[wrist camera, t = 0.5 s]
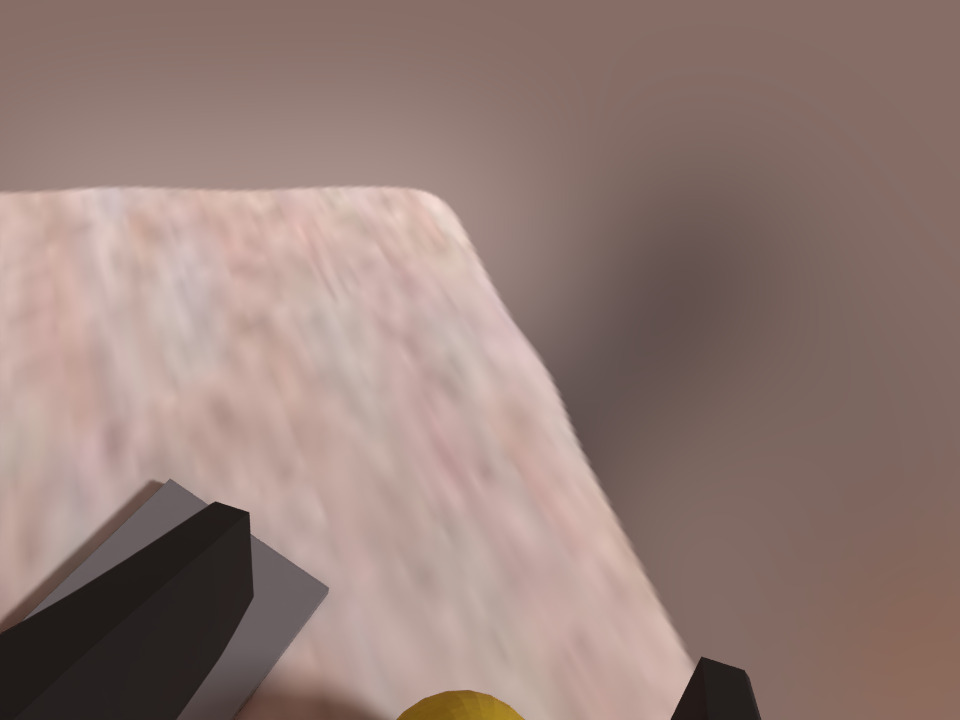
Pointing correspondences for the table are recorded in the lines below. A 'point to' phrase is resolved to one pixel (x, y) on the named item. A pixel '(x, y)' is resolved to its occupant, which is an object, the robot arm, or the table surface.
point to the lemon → (460, 707)
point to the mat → (264, 627)
